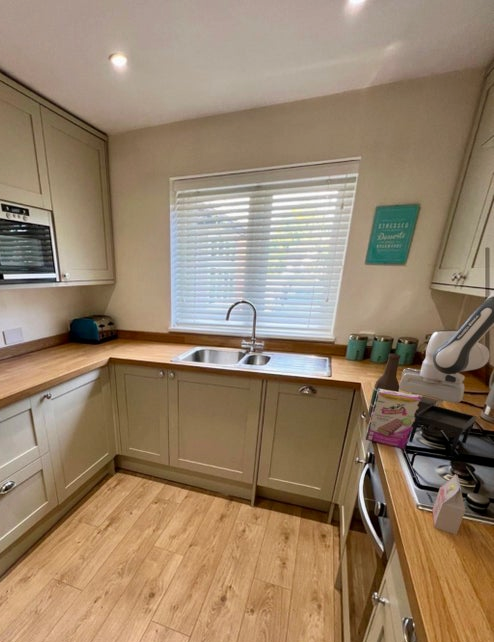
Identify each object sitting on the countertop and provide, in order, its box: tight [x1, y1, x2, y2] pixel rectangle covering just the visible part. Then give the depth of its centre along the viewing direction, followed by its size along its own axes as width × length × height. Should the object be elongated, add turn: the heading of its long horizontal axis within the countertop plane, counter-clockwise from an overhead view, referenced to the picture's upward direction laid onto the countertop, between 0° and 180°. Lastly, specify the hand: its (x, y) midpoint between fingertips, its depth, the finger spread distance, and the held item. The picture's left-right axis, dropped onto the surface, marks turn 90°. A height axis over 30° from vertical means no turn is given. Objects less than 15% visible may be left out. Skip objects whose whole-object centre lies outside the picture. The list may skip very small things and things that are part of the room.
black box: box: [417, 395, 438, 413], centre depth 128 cm, size 5×8×5 cm, turn 129°
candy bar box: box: [365, 389, 421, 450], centre depth 101 cm, size 11×5×16 cm, turn 59°
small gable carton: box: [432, 473, 466, 535], centre depth 68 cm, size 4×7×10 cm, turn 147°
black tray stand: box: [408, 405, 477, 456], centre depth 104 cm, size 12×15×9 cm
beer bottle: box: [367, 352, 402, 419], centre depth 119 cm, size 8×8×24 cm
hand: (424, 406), depth 128 cm, fingers closed on black box, 5 cm apart
